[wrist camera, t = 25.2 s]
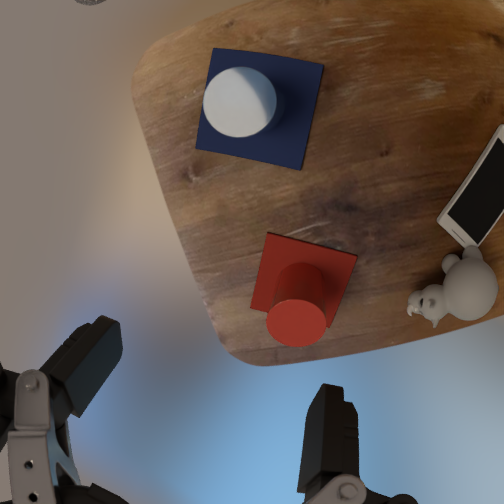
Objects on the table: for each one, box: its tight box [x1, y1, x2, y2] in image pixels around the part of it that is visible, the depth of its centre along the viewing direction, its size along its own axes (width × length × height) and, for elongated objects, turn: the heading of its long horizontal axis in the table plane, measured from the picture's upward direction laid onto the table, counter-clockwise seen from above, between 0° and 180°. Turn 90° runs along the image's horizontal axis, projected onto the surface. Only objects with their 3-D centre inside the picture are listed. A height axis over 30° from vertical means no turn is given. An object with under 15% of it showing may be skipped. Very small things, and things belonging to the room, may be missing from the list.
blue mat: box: [195, 48, 323, 171], centre depth 30 cm, size 12×12×1 cm
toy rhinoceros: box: [407, 245, 499, 328], centre depth 30 cm, size 7×12×8 cm, turn 116°
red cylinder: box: [266, 263, 326, 347], centre depth 34 cm, size 6×6×8 cm
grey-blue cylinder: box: [203, 66, 286, 138], centre depth 26 cm, size 6×6×8 cm
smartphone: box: [437, 124, 504, 248], centre depth 27 cm, size 7×16×1 cm, turn 150°
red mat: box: [250, 232, 357, 328], centre depth 38 cm, size 11×11×1 cm
